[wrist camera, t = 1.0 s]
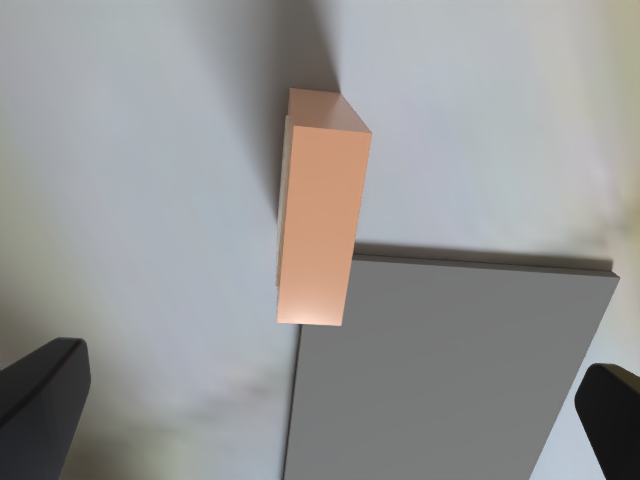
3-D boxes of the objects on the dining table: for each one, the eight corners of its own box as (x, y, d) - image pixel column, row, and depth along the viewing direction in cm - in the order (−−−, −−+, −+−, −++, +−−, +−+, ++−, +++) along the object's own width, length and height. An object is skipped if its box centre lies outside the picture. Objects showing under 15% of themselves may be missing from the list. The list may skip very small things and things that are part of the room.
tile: (276, 228, 20) (273, 322, 14) (287, 87, 18) (289, 125, 11) (323, 231, 21) (340, 325, 14) (340, 93, 18) (372, 133, 12)
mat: (282, 486, 28) (282, 495, 27) (309, 251, 21) (310, 257, 20) (516, 488, 29) (520, 496, 29) (612, 271, 23) (620, 277, 22)
